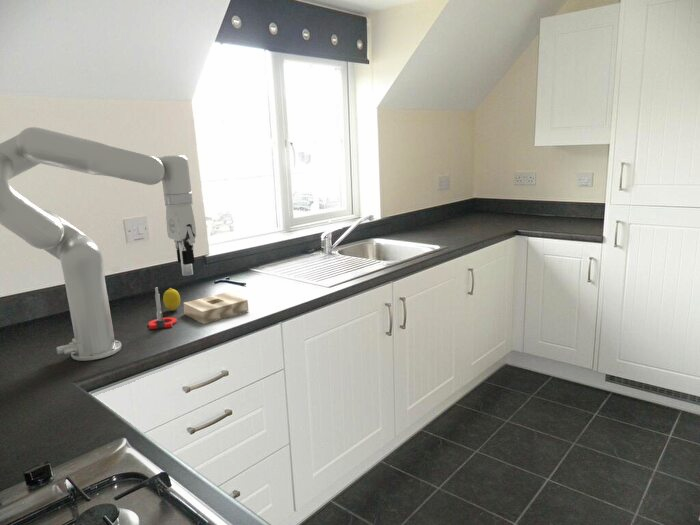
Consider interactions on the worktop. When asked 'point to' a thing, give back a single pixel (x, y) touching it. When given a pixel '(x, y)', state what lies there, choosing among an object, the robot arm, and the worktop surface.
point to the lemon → (171, 299)
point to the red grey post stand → (160, 316)
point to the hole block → (215, 307)
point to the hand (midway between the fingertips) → (186, 262)
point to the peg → (186, 269)
